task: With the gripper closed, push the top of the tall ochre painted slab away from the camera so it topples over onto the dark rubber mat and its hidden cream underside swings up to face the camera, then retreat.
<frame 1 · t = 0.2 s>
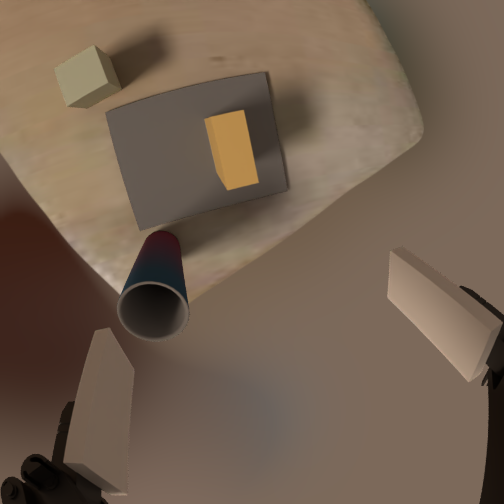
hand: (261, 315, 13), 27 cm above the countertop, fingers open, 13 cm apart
cup: (161, 247, 39), on the countertop
mat: (198, 149, 35), on the countertop
sage block: (98, 82, 28), on the countertop
ochre slab: (222, 143, 35), point 1 cm above the countertop, touching mat
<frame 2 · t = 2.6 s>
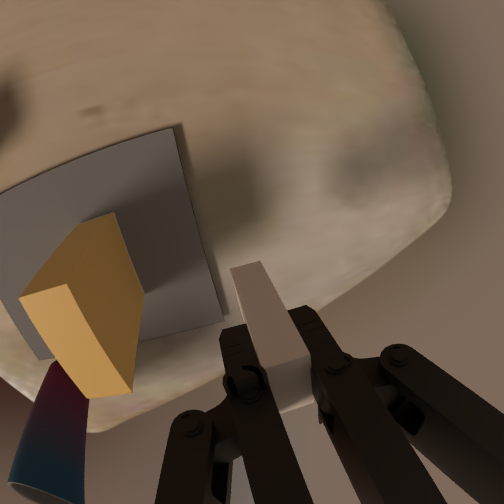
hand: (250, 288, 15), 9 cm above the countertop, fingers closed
cup: (70, 375, 25), on the countertop
mat: (81, 266, 21), on the countertop
ochre slab: (111, 260, 21), point 1 cm above the countertop, touching mat
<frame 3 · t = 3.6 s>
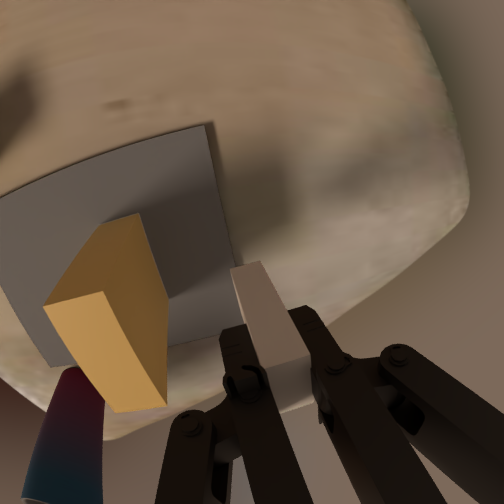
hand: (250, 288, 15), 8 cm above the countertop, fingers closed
cup: (83, 383, 25), on the countertop
mat: (100, 270, 20), on the countertop
ochre slab: (134, 264, 20), point 1 cm above the countertop, touching mat
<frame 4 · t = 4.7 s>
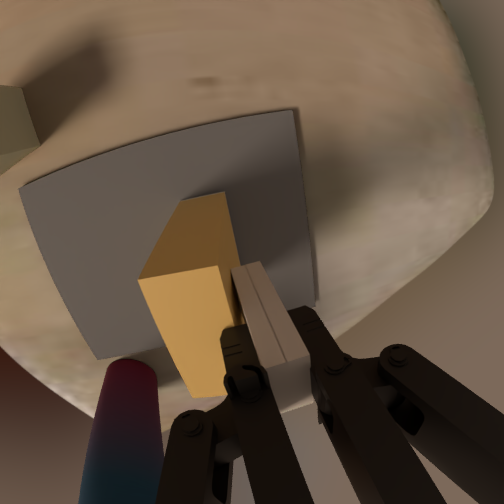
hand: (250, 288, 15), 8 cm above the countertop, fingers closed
cup: (131, 375, 25), on the countertop
mat: (172, 250, 21), on the countertop
sage block: (6, 134, 15), on the countertop
ochre slab: (213, 244, 21), point 1 cm above the countertop, tilted 9°, touching gripper, mat
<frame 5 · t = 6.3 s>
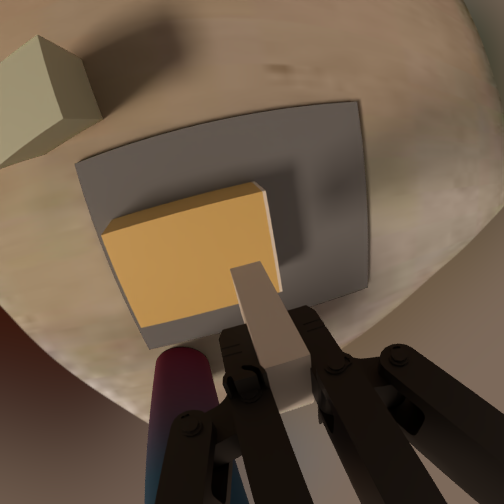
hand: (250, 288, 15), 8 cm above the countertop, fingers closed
cup: (182, 364, 26), on the countertop
mat: (242, 230, 22), on the countertop
sage block: (61, 106, 15), on the countertop
ochre slab: (268, 236, 20), point 2 cm above the countertop, tilted 90°, touching mat
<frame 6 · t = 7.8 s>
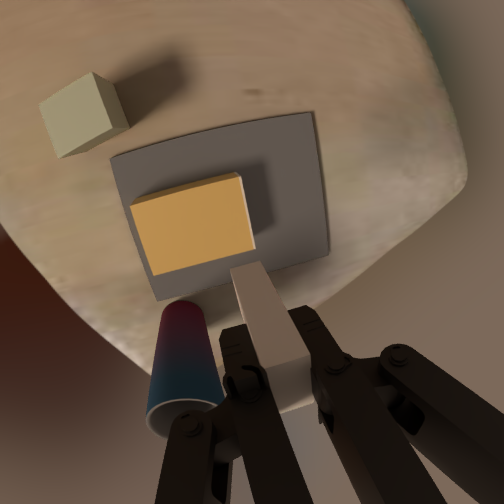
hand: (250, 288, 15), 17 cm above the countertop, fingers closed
cup: (182, 317, 34), on the countertop
mat: (227, 207, 30), on the countertop
sage block: (98, 117, 24), on the countertop
ochre slab: (245, 209, 28), point 2 cm above the countertop, tilted 90°, touching mat
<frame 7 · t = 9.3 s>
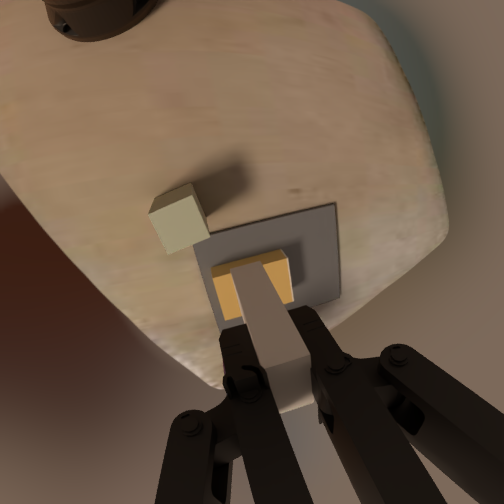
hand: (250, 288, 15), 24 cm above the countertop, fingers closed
mat: (273, 271, 43), on the countertop
sage block: (180, 207, 37), on the countertop
ochre slab: (287, 275, 42), point 2 cm above the countertop, tilted 90°, touching mat
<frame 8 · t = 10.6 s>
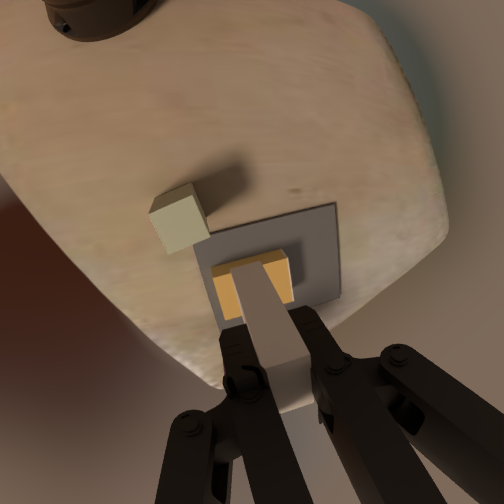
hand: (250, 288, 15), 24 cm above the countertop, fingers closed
mat: (273, 270, 43), on the countertop
sage block: (180, 207, 37), on the countertop
ochre slab: (287, 275, 42), point 2 cm above the countertop, tilted 90°, touching mat
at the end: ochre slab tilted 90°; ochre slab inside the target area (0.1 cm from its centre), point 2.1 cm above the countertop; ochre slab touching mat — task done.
